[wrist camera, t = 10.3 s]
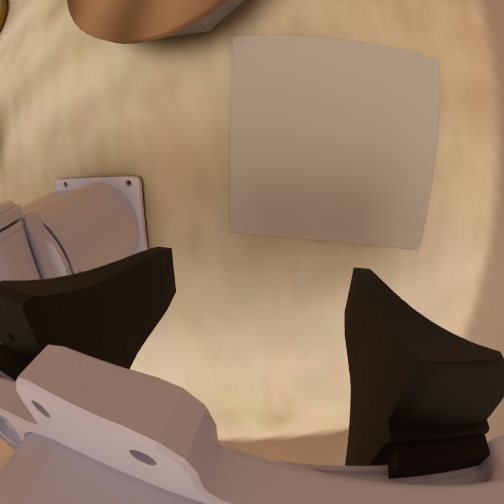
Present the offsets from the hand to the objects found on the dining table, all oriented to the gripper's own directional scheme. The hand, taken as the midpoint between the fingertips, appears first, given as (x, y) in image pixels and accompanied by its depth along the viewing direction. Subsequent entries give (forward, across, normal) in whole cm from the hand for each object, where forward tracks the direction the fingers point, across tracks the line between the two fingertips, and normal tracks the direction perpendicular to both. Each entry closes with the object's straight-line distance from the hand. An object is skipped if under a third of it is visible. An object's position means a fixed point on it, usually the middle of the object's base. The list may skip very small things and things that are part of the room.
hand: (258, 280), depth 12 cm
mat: (+10, -3, -5) cm, 12 cm away
